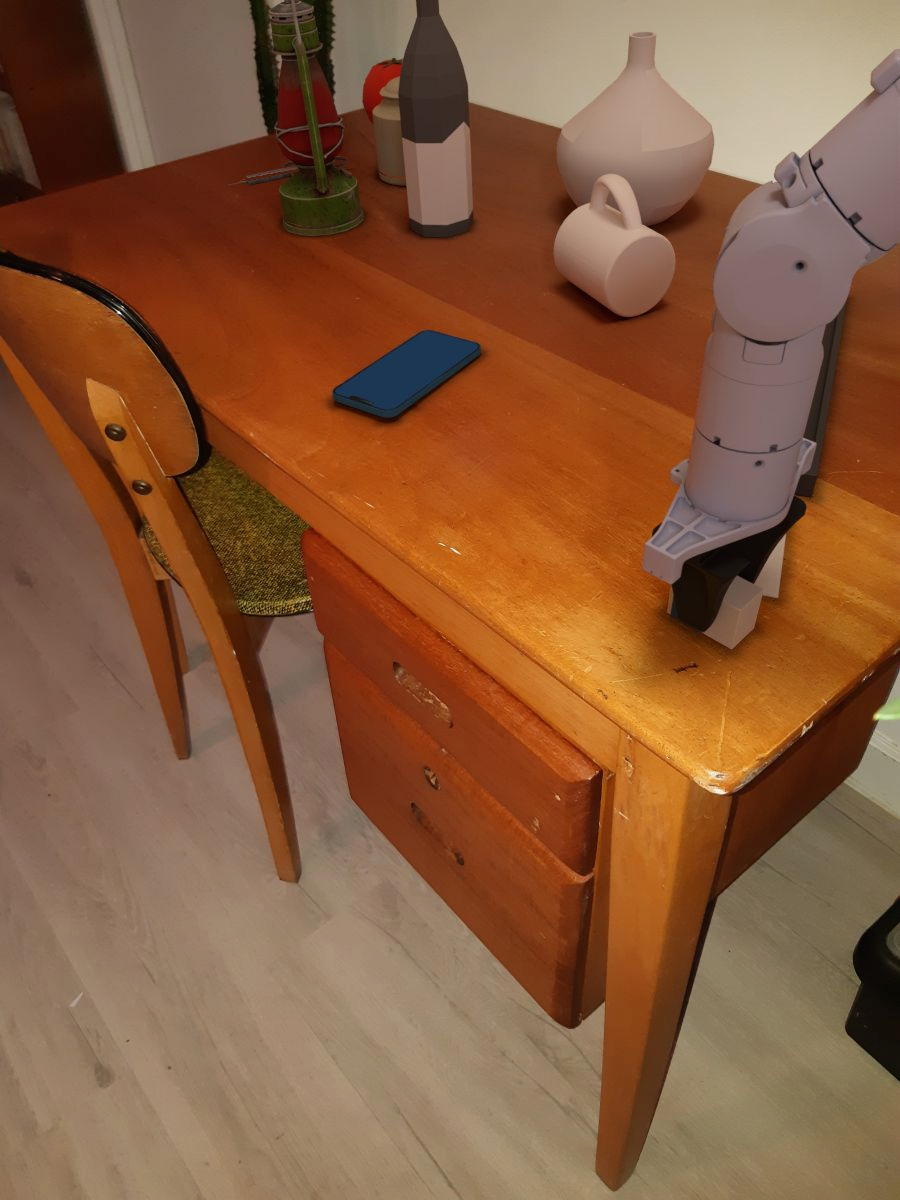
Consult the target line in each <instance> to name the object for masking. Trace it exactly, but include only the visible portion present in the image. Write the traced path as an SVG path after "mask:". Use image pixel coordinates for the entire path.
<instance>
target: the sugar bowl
mask: <svg viewBox="0 0 900 1200" xmlns="http://www.w3.org/2000/svg"><path fill="white" fill-rule="evenodd" d="M403 58H404V56H403V57H402V59H403ZM402 63H403V60H402ZM401 66H402V65H401ZM399 81H400V76H399V77H397V78H394V79H392V80H391V81H390V82H388V84H387V85H386V86H385V87H383V88H382V89H381V91H380V95H382V96H383V100H382V102H381V103H380V104H379V105H378V106H376V107H375V108H374V109H373V112H372V114H373V124H372V126H373V135H374V137H373V138H374V145H375V152H376V160H377V169H379V170H378V176H379V178H380V180H381V181H383V182H385V183H386V184H389V185H393V186H400V187H407V186H406V179H396V178H391V177H387V176H384V175H382V174H381V173H380V172H382V173H383V174H386V175H389V176H395V177H406V175H405V164H404V153H403V142H402V131H401V120H400V109H399V98H398V90H399ZM379 171H380V172H379Z"/></svg>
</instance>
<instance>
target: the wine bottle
mask: <svg viewBox="0 0 900 1200" xmlns="http://www.w3.org/2000/svg"><path fill="white" fill-rule="evenodd" d="M415 7H416V18H415V21H414V24H413V28H412V30H411V33H410V36H409V39H408V41H407V45H406V47H405V49H404V53H403V57H404V58H403V57H402V59H403V63H402V67H401V72H400V81H399V90H398V98H399V109H400V120H401V131H402V142H403V153H404V164H405V175H406V186H405V187H406V197H407V206H408V207H407V208H408V217H409V225H410V230H411V231H412V232H414V233H416V234H418V235H419V236H422V237H423V238H447V239H448V238H451V237H454V236H457V235H461V234H463V233H466V232H469V231H470V228H471V226H472V225H473V223H474V198H473V196H474V195H473V174H472V173H473V172H472V171H473V170H472V149H471V148H472V146H471V128H470V127H471V125H470V102H469V101H470V100H469V83H468V80H467V75H466V72H465V68H464V63H463V61H462V59H461V56H460V52H459V50H458V47H457V45H456V43H455V41H454V39H453V38H452V36H451V34H450V31H449V30H448V28H447V26H446V24H445V22H444V21H443V18H442V16H441V14H440V1H439V0H415Z"/></svg>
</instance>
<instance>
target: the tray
mask: <svg viewBox="0 0 900 1200" xmlns="http://www.w3.org/2000/svg"><path fill="white" fill-rule="evenodd" d="M847 301H848V298H847V299H846V302H845V304H844V305H843V307H842V309H841V310H840V312H839V313H838V315H837V316H836V317H835V318H834V319H833V320H832V321H831V322H830V323H828V324H826V327H825V331H824V335H823V339H822V345H823V350H824V356H823V361H822V365H821V368H820V372H819V376H818V380H817V384H816V388H815V392H814V396H813V400H812V404H811V408H810V412H809V416H808V420H807V424H806V428H805V432H804V436H803V438H805V439H808V440H810V441H813V442H815V443H817V446H816V449H815V453H814V457H813V461H812V464H811V468H810V470H808V471H807V472H806V473H805V474H803V475H801V476H800V479H799V482H798V485H797V488H796V490H795V493H794V495H795V496H796V495H797V496H802V497H803V496H804V497H809V498H812V497H813V496H814V495H813V494H814V490H815V487H816V484H817V480H818V476H819V471H820V464H821V457H822V453H823V447H824V440H825V434H826V428H827V423H828V416H829V409H830V405H831V397H832V392H833V385H834V380H835V373H836V368H837V363H838V356H839V351H840V343H841V338H842V333H843V332H842V331H843V326H844V320H845V313H846V308H847V303H848V302H847Z"/></svg>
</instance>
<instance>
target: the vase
mask: <svg viewBox="0 0 900 1200" xmlns="http://www.w3.org/2000/svg"><path fill="white" fill-rule="evenodd" d="M656 44H657V33H656V32H654V31H635V32H631V33H629V35H628V49H627V61H626V65H625V67H624V69H623V70H622V71H621V73H620V74H619V76H618V77H617V78H616V79H615V80H614V81H613V82H612V83H611V84H609V85H608V86H607V87H606V88H605V89H604V90H602V92H601V93H600V94H598V95H597V96H596V97H595V98H594V99H593V100H592V101H591V102H590V103H588V104H587V105H586V106H585V107H583V108H582V109H581V110H580V111H579V112H577V114H575V115H574V116H572V118H571V119H569V120H568V121H567V122H565V123H564V124H563V125H562V128H561V131H560V133H559V136H558V139H557V141H556V165H557V168H558V171H559V174H560V177H561V180H562V182H563V186H564V188H565V191H566V193H567V195H568V197H570V199H571V200H572V201H573V203H574V204H575V206H576V207H577V208H579V207H580V206H582V205H585V204H588V203H590V201H591V194H592V190H593V187H594V184H595V182H596V181H597V180H598V179H599V178H600V177H601V176H603V175H606V174H616V175H619V176H621V177H623V178H624V179H625V180H626V181H627V182H628V183H629V185H630V186H631V188H632V190H633V192H634V195H635V198H636V201H637V204H638V208H639V212H640V217H641V223H642V224H643V225H644V226H646V227H649V226H654V225H657V224H660V223H662V222H664V221H666V220H667V219H669V218H671V217H672V216H674V215H675V214H676V213H678V212H679V211H680V210H681V209H682V208H684V206H685V205H686V204H687V203H688V202H689V200H690V199H691V198H692V197H693V196H694V195H695V194H696V193H697V191H698V190H699V188H700V187H701V184H702V182H703V181H704V179H705V176H706V175H707V173H708V170H709V168H710V167H711V165H712V161H713V155H714V149H715V136H714V135H715V134H714V131H713V125H712V124H711V122H709V120H708V119H707V118H706V117H704V115H702V114H701V113H700V112H699V111H698V110H697V109H695V108H694V107H693V106H692V105H691V104H690V103H689V102H688V101H687V100H685V99H684V98H683V97H682V96H681V95H680V94H679V93H678V92H677V91H676V90H675V89H674V88H673V87H672V86H671V85H670V84H669V82H667V81H666V80H665V79H664V78H663V77H662V75H661V74H660V71H659V70H658V68H657V67H656V63H655V62H656V61H655V57H656V56H655V55H656ZM606 205H608V206H610V207H612V208H614V209H616V210H617V211H619V212H620V209H619V207H618V205H617V203H616V201H615V199H614V197H613V195H612V194H611V192H610V191H609V193H608V196H607V200H606Z"/></svg>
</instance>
